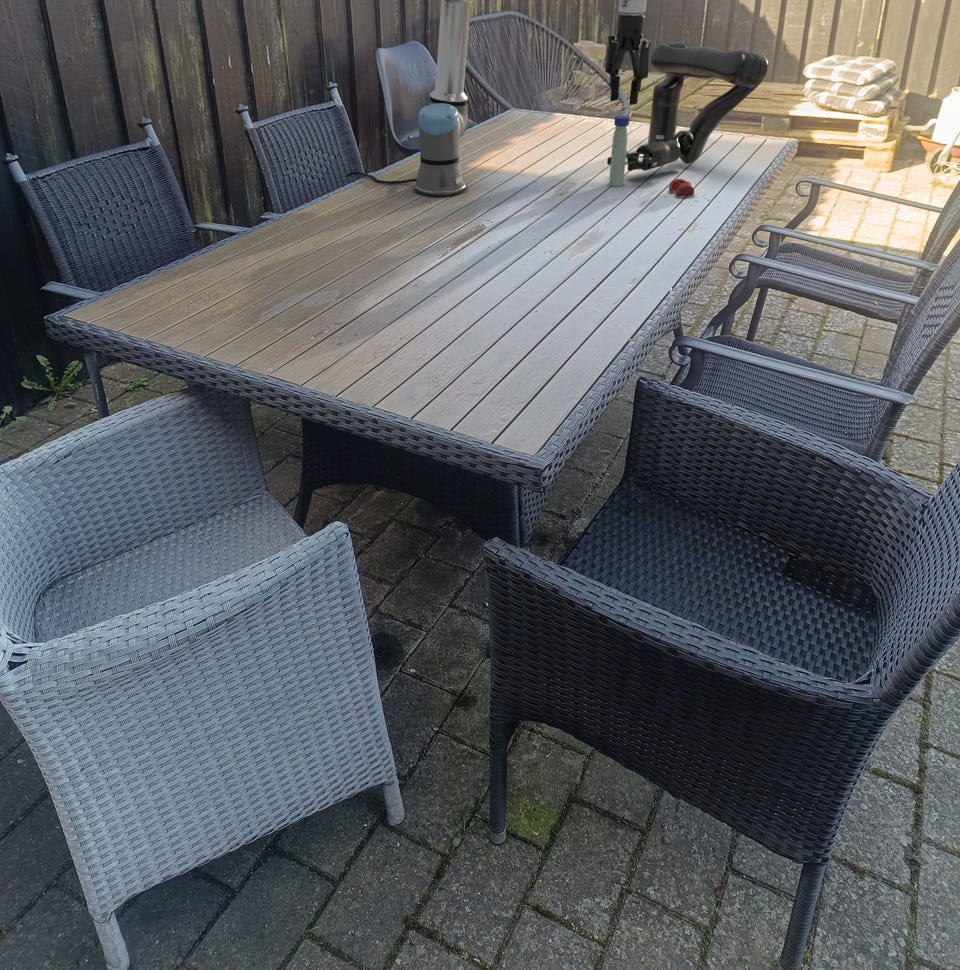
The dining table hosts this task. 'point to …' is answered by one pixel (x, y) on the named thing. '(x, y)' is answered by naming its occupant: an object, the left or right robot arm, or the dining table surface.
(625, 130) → the bottle
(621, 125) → the cap
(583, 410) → the dining table surface
